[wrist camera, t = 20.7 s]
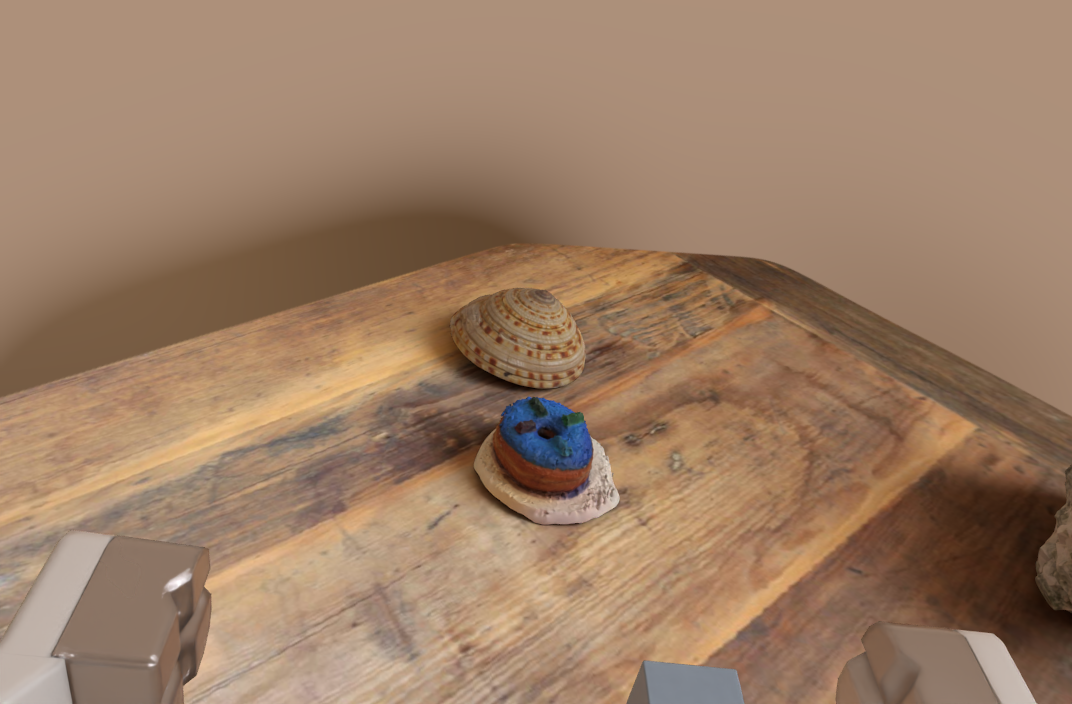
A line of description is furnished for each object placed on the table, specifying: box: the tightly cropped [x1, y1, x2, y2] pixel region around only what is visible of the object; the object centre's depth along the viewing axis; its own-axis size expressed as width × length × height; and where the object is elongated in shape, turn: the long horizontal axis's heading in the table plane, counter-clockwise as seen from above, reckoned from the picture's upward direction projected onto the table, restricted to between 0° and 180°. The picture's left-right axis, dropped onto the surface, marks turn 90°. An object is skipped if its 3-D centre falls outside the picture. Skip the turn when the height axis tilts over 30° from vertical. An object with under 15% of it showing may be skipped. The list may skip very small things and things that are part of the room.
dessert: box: [474, 397, 619, 525], centre depth 47 cm, size 8×7×6 cm
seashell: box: [450, 288, 585, 389], centre depth 55 cm, size 8×6×8 cm
